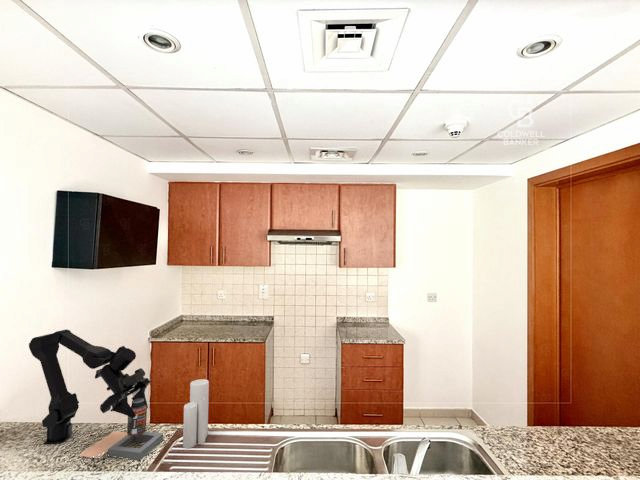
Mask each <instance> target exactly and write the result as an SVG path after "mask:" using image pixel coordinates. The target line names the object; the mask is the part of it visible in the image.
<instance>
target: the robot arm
mask: <svg viewBox="0 0 640 480" xmlns="http://www.w3.org/2000/svg"><path fill="white" fill-rule="evenodd" d="M60 345H62V346H63V347H65V348H66V349H68V350H69V351H71V352H73V353H75V354H76V355H77V356H79V357H81V358H82V362H83V364H85V365H86V366H87V367H88V368H89V369H92V370H95V369H97V370H96V371H95V372H96V373H95V376H94V379H98V378H99V379H100V378H101V379H102V380H103V381H104V383H105V384H106V386H107V388H106V390H107V391H108V392H109V391H111V392H112V393H113V394H111V395H109V396H108V397H107V398H106V399H105V400H104V401H103V402H102V403H101V404H100V405H99V406H100V407H99V410H100V411H101V413H102V414H105V413H107V412H109V411H110V412H115V413H118V414H122V415H125V416H127V417H128V416H129V417H132V418H134V417H135V416H136V415H135V413H134V411H133V410H132V408H131V404H129V401H128V400H129V399H128V397H129V396H131V395H132V397H131V401H133V400H134V399H138V398H143V399H144V404H145V405H146V406H147V409H149V405H148V401H147V398H146V394H145V392H146V389H147V387H148V386H149V384H151V380H150V379H149V378H147V377H145V376H146V372H145V370H144V369H143V368H141V367H140V368H138V369H136V370H135V371H134V373H133V374H131V375H129V374H128V373H124V372H122V371H124V370H126V369H127V368H128V367H129V366H130V365H131V363H133V361H135V359H136V358H137V354H136V352H135V351H134V350H132V349H131V348H127V347H126V346H124V345H122V346H119V348H117V349H116V351H112V350H110V349H109V348H107V347H104V346H101V345H93V344H91V343H89V342H88V341H86V340H84V339H83V338H81V337H79V336H78V335H76V334H74V333H73V332H72V331H71V330H70V329H62V330H58V331H55V332H53V333H48V334H43V335H40V336H36V337H33V338H32V339H31V340H30V342H29V343H28V348H29V351H30V353H31V356H32V357H34V358H35V359H37V360H38V361H39V362H40V366H41V369H42V372H43V376H44V379H45V381H46V385H47V389H48V392H49V395H50V401H49V404H48V409H47V410H48V414H47V415H46V416H45V417H44V418H43V419H42V421H41V423H42V427H44V428H46V429H47V430H46V440H45V441H44V442H43V444H44V445H50V444H57V443H64V442H66V441H67V440H68V438H69V437H70V436H72V434H73V423H71V422H72V419H73V418H75V417H76V414H77V412H78V409H79V403H80V401H79V399H78V396H77V393H76V392H75V393H71V392H70V391H68V388H67V384H66V382H65V378H64V375H63V372H62V368H61V365H60V361H59V359H58V352H59V349H60ZM102 366H103V367H102ZM100 367H102V368H100ZM98 368H100V369H98Z"/></svg>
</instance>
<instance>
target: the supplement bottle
mask: <svg viewBox="0 0 640 480" xmlns="http://www.w3.org/2000/svg"><path fill="white" fill-rule="evenodd" d="M130 407H131V408H132V410H133V411H134V413H135V415H136V416H135V417H134V418H132V417H129V416H127V429H126V432H127V435H128V436H132V437H135V436H139V435H141V434H143V433H144V432H147V416H148V415H147V414H148V413H147V412H148V408H147V406H146V405H145V404H144V399H143V398H138V399H134V400H131V405H130Z"/></svg>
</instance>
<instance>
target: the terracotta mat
mask: <svg viewBox="0 0 640 480" xmlns="http://www.w3.org/2000/svg"><path fill="white" fill-rule="evenodd" d="M125 436H127V431H125V432H123V431H116V430H114V431H112V432H111V433H110V434H108V435H106V436H105V437H103V438H102V439H100V440H99V441H98V442H96V443H94V444H93V445H91V446H90V447H88V448H87V449H85V450H84V451H82V452H81V453H80V454H78V455H77V457H78V456H85V457H93V456H94V457H95V458H96V456H97V457H98V455H99V454H100V453H102V452H105V453H106V452H107V451H108V449H109V448H110V447H111V446H113V445H114V444H116V443H117V442H118V441H120V440H121V439H123V438H124V437H125ZM106 454H107V453H106Z"/></svg>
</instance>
